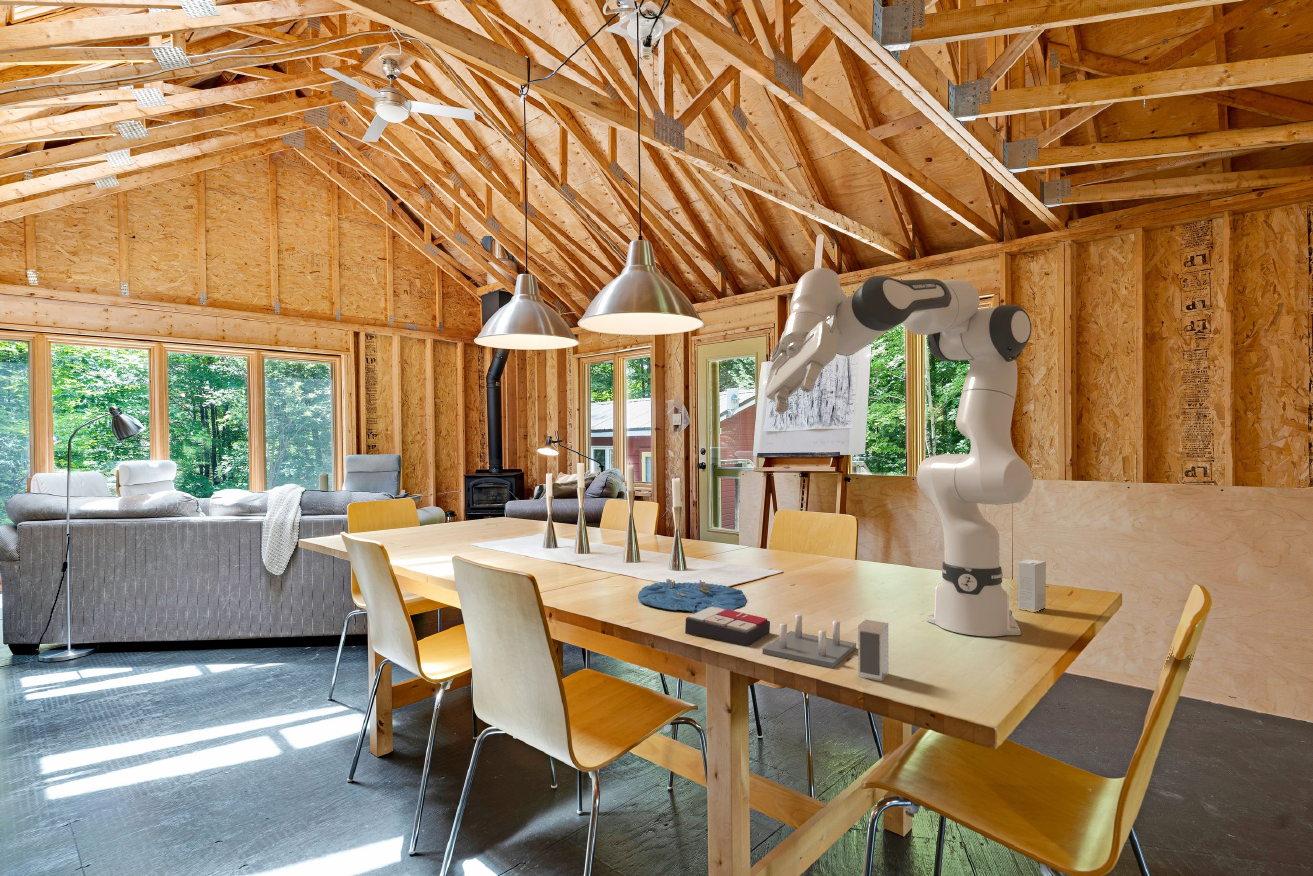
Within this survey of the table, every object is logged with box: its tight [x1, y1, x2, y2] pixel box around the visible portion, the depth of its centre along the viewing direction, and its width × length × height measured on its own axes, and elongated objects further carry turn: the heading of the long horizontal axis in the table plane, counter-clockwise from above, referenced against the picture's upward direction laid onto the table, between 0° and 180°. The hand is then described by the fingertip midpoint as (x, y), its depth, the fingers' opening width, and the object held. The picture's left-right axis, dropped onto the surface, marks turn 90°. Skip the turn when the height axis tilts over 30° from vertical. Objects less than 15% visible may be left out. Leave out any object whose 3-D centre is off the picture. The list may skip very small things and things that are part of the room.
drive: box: [857, 619, 890, 682], centre depth 109 cm, size 5×4×9 cm
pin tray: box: [761, 613, 857, 669], centre depth 122 cm, size 14×14×6 cm
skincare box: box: [1017, 559, 1047, 611], centre depth 153 cm, size 6×4×12 cm
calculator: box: [684, 607, 771, 647], centre depth 133 cm, size 11×4×15 cm
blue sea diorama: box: [637, 578, 748, 614], centre depth 164 cm, size 30×30×5 cm
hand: (793, 401), depth 109 cm, fingers open, 8 cm apart
